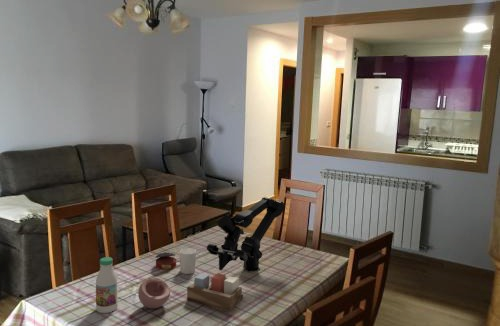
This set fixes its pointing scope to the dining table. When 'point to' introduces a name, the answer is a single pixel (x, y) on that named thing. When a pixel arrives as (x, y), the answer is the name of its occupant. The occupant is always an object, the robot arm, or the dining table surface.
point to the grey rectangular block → (202, 280)
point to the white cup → (187, 260)
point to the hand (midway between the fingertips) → (220, 270)
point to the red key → (217, 282)
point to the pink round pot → (153, 293)
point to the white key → (230, 285)
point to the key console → (214, 297)
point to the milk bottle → (106, 287)
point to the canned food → (165, 261)
